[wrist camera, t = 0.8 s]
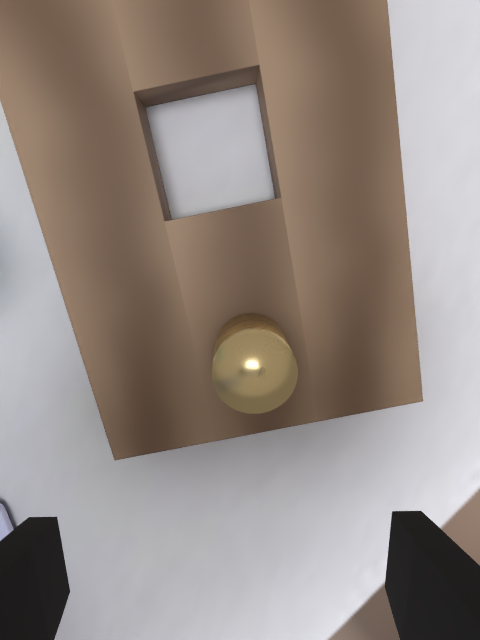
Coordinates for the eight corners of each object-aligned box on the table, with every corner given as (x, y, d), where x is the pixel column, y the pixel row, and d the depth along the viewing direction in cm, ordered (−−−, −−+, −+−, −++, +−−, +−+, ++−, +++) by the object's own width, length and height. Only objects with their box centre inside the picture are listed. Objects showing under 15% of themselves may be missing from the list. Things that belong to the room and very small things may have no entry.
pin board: (125, 436, 20) (92, 507, 15) (2, 28, 15) (-104, -60, 10) (403, 383, 19) (461, 437, 15) (359, -50, 15) (422, -180, 10)
